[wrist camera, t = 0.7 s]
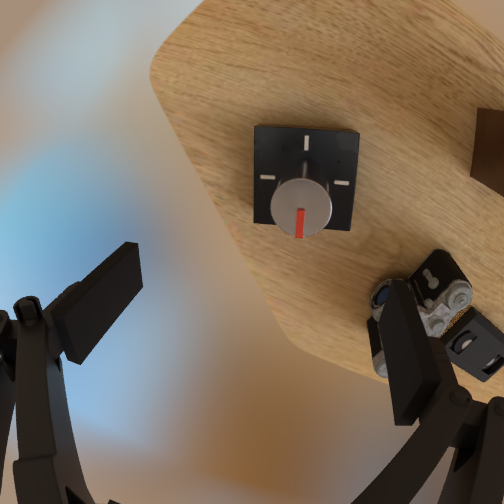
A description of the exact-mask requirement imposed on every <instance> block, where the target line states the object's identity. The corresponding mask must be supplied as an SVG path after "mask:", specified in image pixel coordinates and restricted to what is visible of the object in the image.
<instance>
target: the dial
mask: <svg viewBox="0 0 504 504" xmlns="http://www.w3.org/2000/svg"><path fill="white" fill-rule="evenodd" d="M270 207H271V214H272V217H273V219H274V221H275V223H276V224H277V226H278V227H279V228H280V229H281V230H283V231H284V232H286V233H288V234H290V235H293V236H295V238H303V237H306V236H311V235H314V234H316V233H318V232H319V231H321V230H322V229H323V228H324V227H325V226H326V225H327V223H328V222H329V220H330V217H331V214H332V202H331V196H330V190H329V184H328V178H327V174H326V171H325V169H324V167H323V166H322V165H321V164H320V163H319V162H317V161H316V160H314V159H311V158H306V157H302V158H297V159H295V160H293V161H291V162H290V163H289V164H288V165H287V166H286V167H285V169H284V171H283V173H282V176H281V178H280V180H279V183H278V185H277V187H276V189H275V192H274V194H273V197H272V199H271V206H270Z"/></svg>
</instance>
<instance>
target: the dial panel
mask: <svg viewBox="0 0 504 504" xmlns="http://www.w3.org/2000/svg"><path fill="white" fill-rule="evenodd" d="M359 138H360V133H358V132H357V131H354V130H344V129H334V128H322V127H309V126H293V125H271V124H259V125H256V126H254V218H253V223H259V224H272V225H277V224H276V223H275V221H274V219H273V217H272V214H271V207H270V206H271V199H272V197H273V194H274V192H275V189H276V187H277V185H278V183H279V180H280V178H281V176H282V173H283V171H284V169H285V167H286V166H287V165H288V164H289V163H290V162H291V161H293V160H295V159H297V158H302V157H306V158H311V159H314V160H316V161H317V162H319V163H320V164H321V165H322V166H323V167H324V169H325V171H326V174H327V178H328V184H329V190H330V196H331V202H332V214H331V217H330V220H329V222H328V223H327V225H326V226H325V227H324V228H323V229H332V230H343V231H350V228H351V220H352V212H353V203H354V194H355V185H356V175H357V164H358V152H359Z"/></svg>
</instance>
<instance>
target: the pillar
mask: <svg viewBox="0 0 504 504" xmlns="http://www.w3.org/2000/svg"><path fill="white" fill-rule="evenodd" d="M470 176H471V177H472V178H474V179H476V180H477V181H479V182H481V183H482V184H484V185H486V186H487V187H489V188H490V189H492V190H494V191H495V192H497V193H498V194H500V195H501V196H503V197H504V111H500V110H493V109H485V108H478V111H477V124H476V135H475V144H474V152H473V160H472V167H471V173H470Z"/></svg>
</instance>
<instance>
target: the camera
mask: <svg viewBox="0 0 504 504" xmlns="http://www.w3.org/2000/svg"><path fill="white" fill-rule="evenodd" d="M398 280H402V279H400V278H398ZM404 280H405V281H407V284H408V286H409V289H410V291H411V294H412V296H413V298H414V301H415V303H416V306H417V309H418V311H419V314H420V316H421V319H422V322H423V324H424V327H425V330H426V333H427V335H428V336H433V337H440V336H441V335H442V334H443V333H444V330H445V328H446V327H448V326H449V322H450V320H451V319H452V318H453V317H454V316H455V315H456V314H457V313H458V312H459V311H460V310H462V309H464V308H466V307H467V306H468V305H469V303H470V302H471V299H472V294H473V293H472V285H471V284H470V282H469V281H468V279H467V278H466V276H465V275H464V274H463V272H462V271H461V269H460V268H459V266H458V265H457V263H456V262H455V261H454V259H453V258H452V256H451V255H450V254H449V252H446V251H445V250H443V249H435V250H433V251H432V252H431V253H430V254H429V256H428V257H427V258H426V259H425V260H424V261H423V262H422V263H421V265H420V266H419V267H418V268H417V269H416V270H415V271H414V272H413V273H412V274H411V275H410V276H409V278H405V279H404ZM391 281H392V279H387V280H384V281H383V282H382V283H380V284H379V285H378V287H377V288H376V289H375V291H374V292H373V294H372V296H371V299H370V308H371V309H372V313H373V315H372V316H371V317H370V318H369V319H368V320H367V326H368V333H369V339H370V346H371V353H372V360H373V367H374V370H375V372H376V373H377V374H378V375H379V376H380V377H383V378H388V374H387V368H386V362H385V356H384V351H383V346H382V340H381V335H380V330H379V325H378V321H379V319H380V316H381V313H382V310H383V307H384V304H385V301H386V297H387V294H388V291H389V288H390V285H391Z"/></svg>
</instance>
